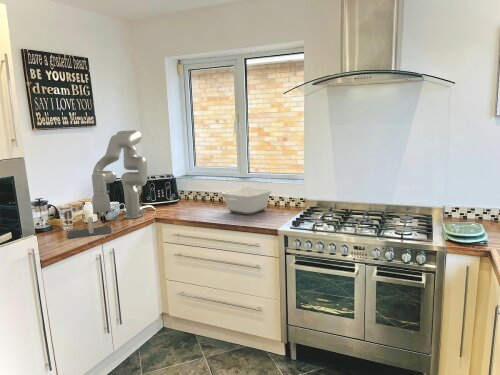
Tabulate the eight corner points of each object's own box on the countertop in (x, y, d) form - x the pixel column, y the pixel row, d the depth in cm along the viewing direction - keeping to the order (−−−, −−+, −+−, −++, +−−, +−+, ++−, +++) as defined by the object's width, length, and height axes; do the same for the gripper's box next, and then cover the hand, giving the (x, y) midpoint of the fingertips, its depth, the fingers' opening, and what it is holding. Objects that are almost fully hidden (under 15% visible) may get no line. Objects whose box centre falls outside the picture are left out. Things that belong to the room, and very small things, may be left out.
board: (93, 233, 224) (92, 220, 223) (89, 233, 223) (87, 220, 222) (93, 229, 233) (92, 216, 232) (89, 229, 232) (87, 217, 231)
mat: (110, 226, 240) (110, 225, 239) (111, 233, 225) (111, 232, 225) (69, 231, 231) (69, 231, 231) (67, 239, 216) (67, 238, 216)
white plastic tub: (248, 219, 245) (248, 197, 242) (216, 214, 262) (215, 193, 259) (277, 209, 272) (276, 189, 269) (246, 204, 289) (245, 186, 286)
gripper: (112, 190, 233) (115, 219, 236) (86, 193, 227) (90, 222, 231) (113, 192, 226) (116, 222, 229) (86, 195, 221) (90, 225, 224)
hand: (103, 222), depth 230 cm, fingers closed
